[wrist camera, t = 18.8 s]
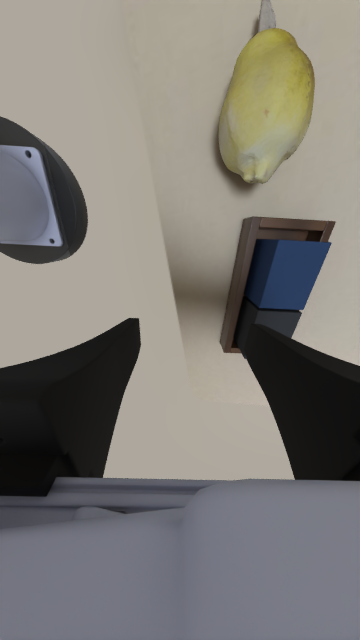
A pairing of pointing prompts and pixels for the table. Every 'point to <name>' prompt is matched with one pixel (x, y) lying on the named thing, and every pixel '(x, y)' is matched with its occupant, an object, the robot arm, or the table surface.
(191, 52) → the table surface
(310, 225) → the frame
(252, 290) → the blue rectangular block
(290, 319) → the dark grey rectangular block
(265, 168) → the fruit
